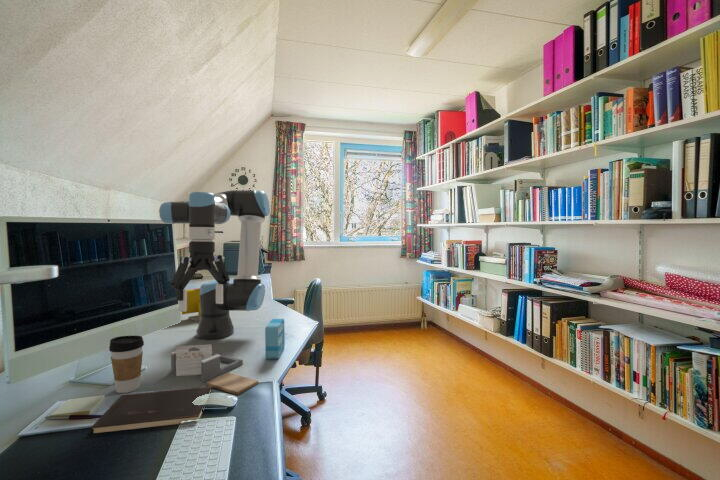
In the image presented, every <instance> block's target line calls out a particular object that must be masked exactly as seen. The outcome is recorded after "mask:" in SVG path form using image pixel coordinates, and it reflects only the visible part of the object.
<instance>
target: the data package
mask: <svg viewBox="0 0 720 480" xmlns="http://www.w3.org/2000/svg"><path fill="white" fill-rule="evenodd" d="M264 330H265V331H264V335H265V341H264V343H265V344H264V346H265V349H264V351H265V359H266V360H279V359H280V357H281V355H282V354H283V352H284V350H285V346H286V345H285V344H286V343H285V341H286V340H285V319H284V318H271V320H270V321H269V322H268V323H267V324H266V326H265V328H264Z"/></svg>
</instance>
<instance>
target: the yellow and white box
mask: <svg viewBox="0 0 720 480" xmlns="http://www.w3.org/2000/svg"><path fill="white" fill-rule="evenodd" d="M186 290H187V311H186V312H183V311H180V313H181V312H182V314H181V315H188V314H194V313H195V314H196V313H197V315H191V316H188V317H187V318H188V320H191V321H194V322H198V321H199V322H200V318H201V313H200V287H198V288H197V287H196V288H193V289H186Z"/></svg>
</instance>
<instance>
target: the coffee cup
mask: <svg viewBox="0 0 720 480" xmlns="http://www.w3.org/2000/svg"><path fill="white" fill-rule="evenodd" d="M144 345H145V342H144V339H143V336H140V335H122V336H121V335H120V336H117V337H113V338H111V339H110V341H109V346H108V347H109V348H108V350H109V352H111V353H110V354H111V357H110V360H111V367H112V372H113V379H114V387H115V392H116V393H117V394H129V393H131V392H134V391H136V390H138V389H139V388H140V386H141V378H142V377H141V376H142V367H143V366H142V365H143V364H142V363H143V346H144Z"/></svg>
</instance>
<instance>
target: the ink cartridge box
mask: <svg viewBox="0 0 720 480" xmlns="http://www.w3.org/2000/svg"><path fill="white" fill-rule="evenodd" d="M212 345H213V344H210V343H209V344H193V345H180V346H177V345H176V346H175V351H176V372H175V375H176V377H182V376H183V377H184V376H196V375H197V376H198V375H199V376H200V375H201V361H202V360H204V359H207V358H209V357H212V352H213V346H212ZM193 348H196V349H198V350H191V349H193ZM189 349H190V351H189Z"/></svg>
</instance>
